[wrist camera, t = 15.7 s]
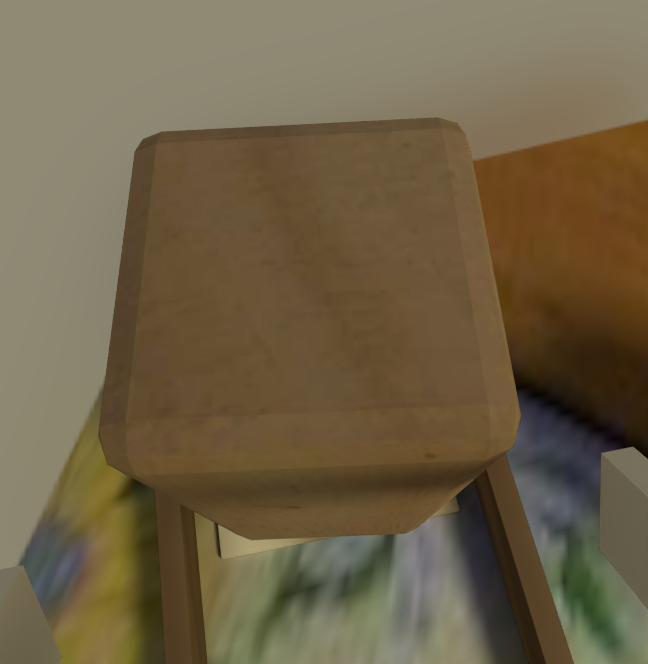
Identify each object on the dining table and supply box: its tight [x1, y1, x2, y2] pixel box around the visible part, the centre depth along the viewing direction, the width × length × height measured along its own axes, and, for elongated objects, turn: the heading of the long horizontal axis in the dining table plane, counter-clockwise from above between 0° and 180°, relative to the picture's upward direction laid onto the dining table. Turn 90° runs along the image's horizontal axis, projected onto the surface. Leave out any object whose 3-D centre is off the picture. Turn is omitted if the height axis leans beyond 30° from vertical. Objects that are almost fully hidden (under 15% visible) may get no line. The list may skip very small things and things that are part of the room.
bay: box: [155, 453, 574, 664], centre depth 28 cm, size 18×28×4 cm, turn 11°
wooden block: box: [98, 118, 521, 540], centre depth 23 cm, size 10×10×20 cm
